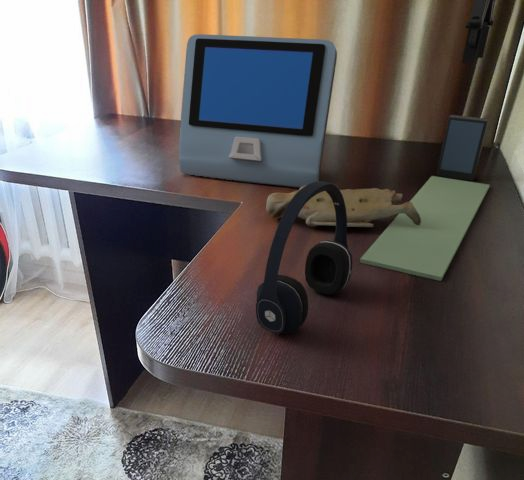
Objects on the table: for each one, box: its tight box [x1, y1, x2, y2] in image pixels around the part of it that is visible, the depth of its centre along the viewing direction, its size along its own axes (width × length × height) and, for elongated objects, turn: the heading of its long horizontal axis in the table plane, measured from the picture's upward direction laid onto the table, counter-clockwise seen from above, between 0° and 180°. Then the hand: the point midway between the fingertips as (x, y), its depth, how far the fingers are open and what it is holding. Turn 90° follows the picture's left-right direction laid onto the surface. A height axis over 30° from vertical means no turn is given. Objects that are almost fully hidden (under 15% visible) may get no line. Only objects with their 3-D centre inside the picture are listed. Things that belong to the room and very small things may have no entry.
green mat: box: [359, 175, 491, 282], centre depth 105 cm, size 14×55×1 cm, turn 152°
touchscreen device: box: [178, 33, 338, 189], centre depth 121 cm, size 35×20×30 cm, turn 73°
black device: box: [435, 114, 490, 182], centre depth 125 cm, size 9×3×14 cm, turn 62°
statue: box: [265, 184, 421, 228], centre depth 100 cm, size 10×7×30 cm
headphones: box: [255, 180, 353, 335], centre depth 70 cm, size 20×7×18 cm, turn 146°
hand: (472, 60), depth 119 cm, fingers open, 13 cm apart
